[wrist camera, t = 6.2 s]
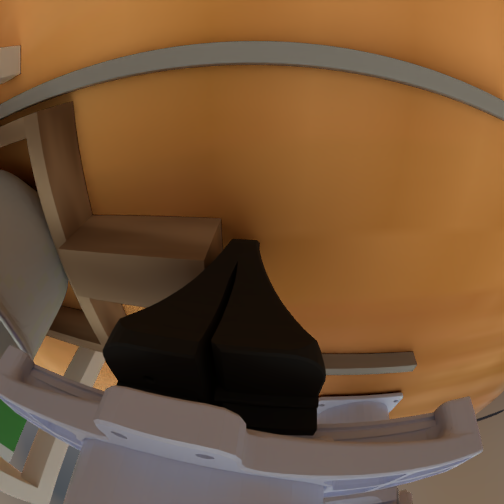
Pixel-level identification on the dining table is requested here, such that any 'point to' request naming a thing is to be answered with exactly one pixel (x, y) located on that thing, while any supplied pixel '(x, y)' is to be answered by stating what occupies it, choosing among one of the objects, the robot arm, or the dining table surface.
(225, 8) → the dining table surface
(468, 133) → the dining table surface
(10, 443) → the hardback book
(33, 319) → the teacup
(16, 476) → the shelf
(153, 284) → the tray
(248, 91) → the dining table surface
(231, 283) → the robot arm
